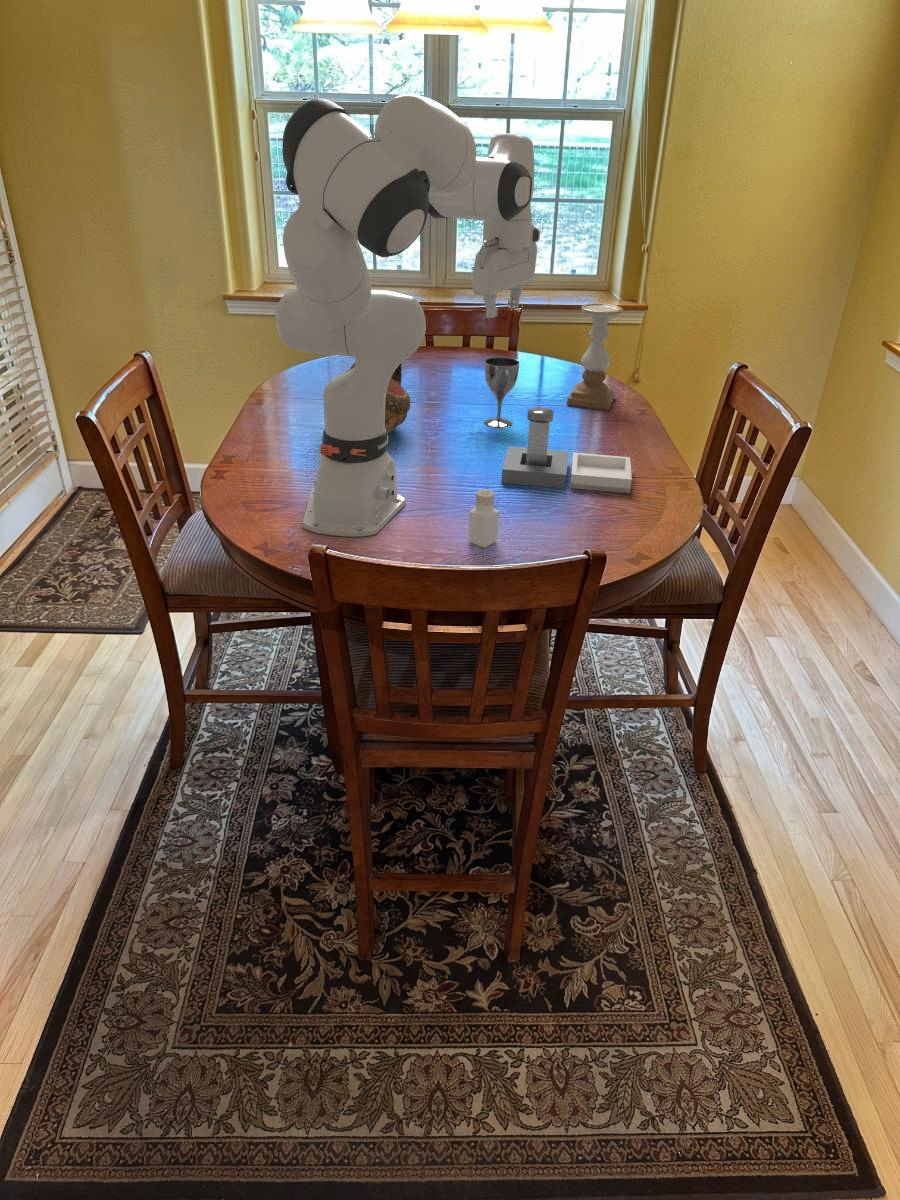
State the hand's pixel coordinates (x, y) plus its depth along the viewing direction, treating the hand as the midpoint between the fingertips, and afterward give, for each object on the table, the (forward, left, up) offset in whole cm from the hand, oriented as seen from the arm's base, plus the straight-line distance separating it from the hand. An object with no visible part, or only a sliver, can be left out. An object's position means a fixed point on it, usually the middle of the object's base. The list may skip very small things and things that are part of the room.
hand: (502, 312), depth 156 cm
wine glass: (+26, +2, -32) cm, 41 cm away
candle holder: (+48, -20, -32) cm, 61 cm away
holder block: (-3, -9, -32) cm, 33 cm away
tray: (-3, -23, -32) cm, 39 cm away
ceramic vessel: (+11, +30, -32) cm, 45 cm away
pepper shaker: (-36, -2, -32) cm, 48 cm away
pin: (-3, -9, -32) cm, 33 cm away
